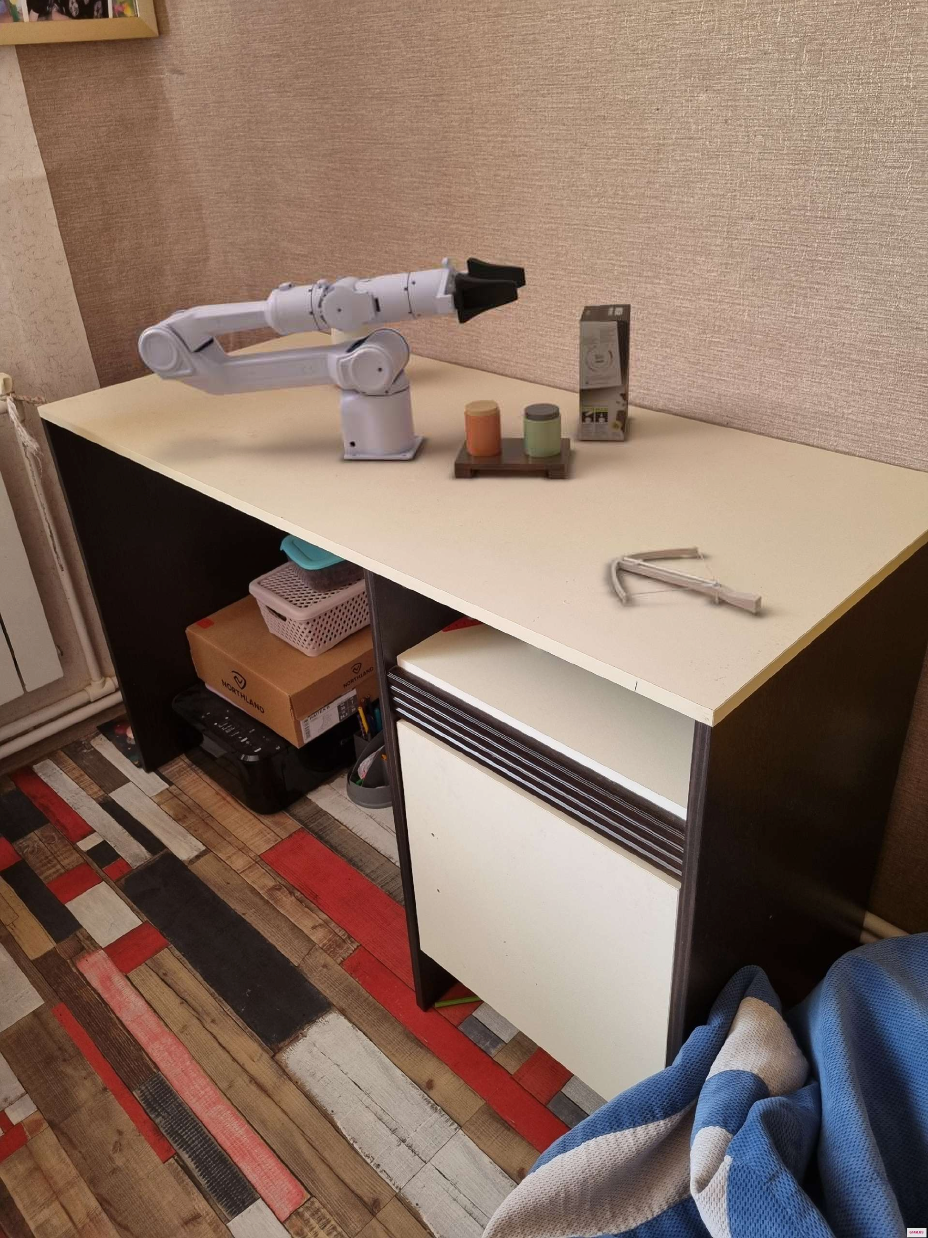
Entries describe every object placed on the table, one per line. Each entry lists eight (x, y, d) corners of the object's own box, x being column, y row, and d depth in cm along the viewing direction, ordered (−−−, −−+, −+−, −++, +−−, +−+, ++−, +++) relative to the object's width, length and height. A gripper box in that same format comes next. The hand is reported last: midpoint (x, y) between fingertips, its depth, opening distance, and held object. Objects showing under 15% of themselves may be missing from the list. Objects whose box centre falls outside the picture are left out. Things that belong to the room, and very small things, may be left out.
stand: (455, 477, 121) (453, 463, 120) (467, 451, 128) (466, 437, 127) (564, 478, 118) (564, 463, 117) (570, 451, 126) (570, 437, 125)
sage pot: (521, 457, 120) (520, 415, 117) (526, 443, 124) (525, 402, 121) (559, 457, 119) (559, 415, 116) (563, 443, 123) (562, 402, 120)
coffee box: (625, 441, 128) (628, 319, 119) (577, 440, 129) (577, 320, 121) (629, 418, 135) (632, 302, 127) (584, 417, 137) (584, 303, 128)
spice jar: (463, 456, 122) (460, 411, 118) (470, 443, 125) (467, 399, 122) (499, 456, 121) (497, 411, 118) (504, 443, 125) (502, 399, 121)
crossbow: (580, 595, 95) (579, 577, 94) (652, 549, 102) (652, 531, 101) (721, 640, 85) (722, 620, 84) (791, 585, 92) (792, 566, 91)
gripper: (395, 275, 111) (508, 261, 108) (421, 251, 123) (524, 237, 120) (405, 335, 115) (516, 323, 112) (430, 306, 127) (530, 294, 124)
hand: (521, 283), depth 116 cm, fingers open, 7 cm apart
